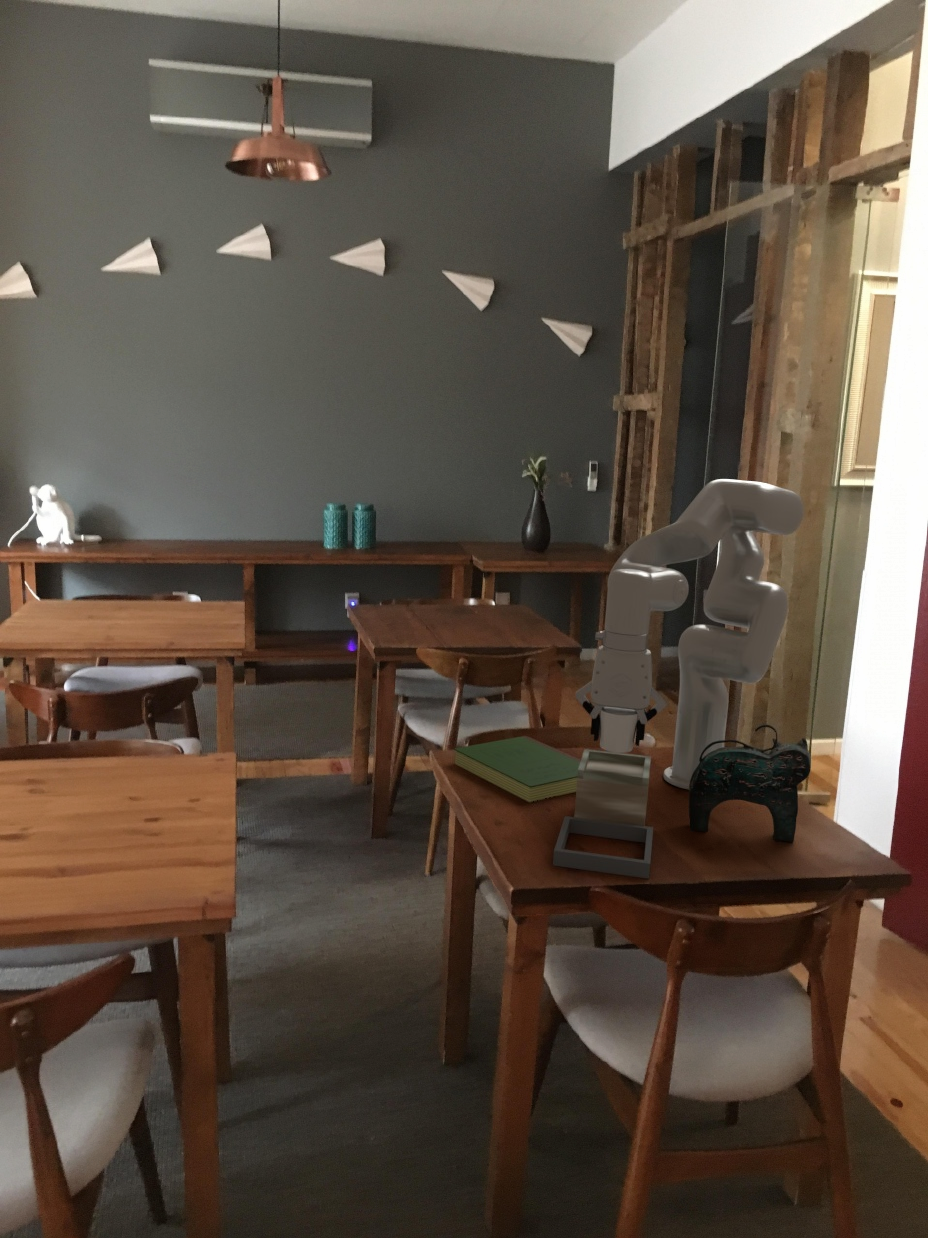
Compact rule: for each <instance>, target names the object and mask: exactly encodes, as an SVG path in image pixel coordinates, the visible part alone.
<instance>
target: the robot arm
mask: <svg viewBox="0 0 928 1238" xmlns="http://www.w3.org/2000/svg"><path fill="white" fill-rule="evenodd" d="M804 513H805V510H804V504H803V501H802V499H801V497H800V495H798V494H797V493H796V492H795V491H793V490H790V489H786V488H782V487H780V486H776V485H773V484H771V483H766V482H761V481H753V480H752V481H751V480H740V479H729V478H720V479H718V478H717V479H715V480H711V481H709V482H707V484H705V486H703V488H702V489H701V490H700V491H699V493H697V495H696V496H695V497H694V499H693V500H692V501H691V502H690V504H689V505H688V506H687V508H686V509H685V510H684V511H683V512H682V513H681V515H679V517H678V519H677V520H676V521H675V522H674V523H671V524H669V525H667V526H664V527H661V528H659V529H658V530H655V531H653V532H650V533H649V534H647V535H644V536H642V537H641V538H639V539H638V540H635V541H633V543H632V544H630V545H629V546H628V547H627V548H626V550H624V552H623V553H622V554H621V555H620V556H619V558H618V559H617V561H616V562H615V563H614V565H613V566H612V568H611V570H610V572H609V575H608V578H607V594H606V595H607V596H606V607H605V608H606V609H605V616H604V617H605V619H604V629H603V630H602V631H596V632H595V638H594V639H595V640H598V641H600V642H601V643H602V645H599V646H598V648H597V651H596V655H595V660H594V665H593V670H592V679H591V680H590V681H589V682H587V683H586V684H585V685H583V686H581V688H579V689H578V690H576V691H575V694H574V697H575V698H576V700H577V701H578V702H579V703H580V704H581V706H582V708H583V709H584V710H585V711H586V713H587V714H588V715H589V717H590V718H591V724H590V735H593V741H594V742H597V741H599V739H600V710H601V709H602V707H603V706H606V707H614V708H623V709H633V710H636V712H637V714H638V722H637V728H636V733H635V738H634V745H635V746H636V747H639V746H640V742H641V741H644V740H645V733H646V732H645V731H646V724H647V722H649V721H650V720H652V719H653V718H654V717H656V716H657V714H659V713H660V712H661V711H662V710H664V708H666V707H667V703H668V702H667V701H666V699H664V698H663V696H662V695H661V694H660V692H658V691H657V690H656V689H655V687H654V686H653V685H652V684H653V683H652V681H653V660H652V659H653V658H652V652H651V650H649V649H648V644H649V631H650V622H651V621H650V620H651V612H652V611H660V612H669V611H674V610H676V609H679V608H680V607H681V606H682V605H683V604H684V603H685V601H686V600H687V598H688V595H689V591H690V589H689V588H690V586H689V583H688V580H687V578H686V576H685V574H683V573H682V572H681V571H679V570H676V569H674V568H671V567H669V568H668V567H663V566H666V565H671V564H677V563H678V564H679V563H685V562H689V561H694V560H698V559H702V558H705V557H707V556H708V555H710V554H711V553H712V552H713V550H715V548H716V547H717V545H718V544H719V542H720V541H721V553H720V556H719V560H718V562H717V565H716V567H715V570H714V573H713V575H712V577H711V581H710V584H709V586H708V589H707V591H706V594H705V597H704V601H703V612H704V613H703V614H705V616H706V617H707V618H708V619H709V620H711V621H713V622H715V623H720V624H724V625H726V626H727V625H728V626H732V627H736V628H737V627H739V628H743V629H747V630H748V631H742V630H737V629H732V628H728V627H722V626H716V625H711V624H694V625H691V626H689V627H687V628H686V629H685V630H684V631H683V632H682V633H681V634H680V638H679V640H678V641H679V642H678V645H677V646H678V649H677V652H678V654H677V655H678V665H679V693H678V704H677V714H676V722H675V723H676V725H675V733H674V734H675V735H674V743H673V745H674V746H673V755H672V766H669V767H667V768H665V769H664V771H663V779H664V780H665V781H666V782H667V783H669V784H671V785H673V786H675V787H677V788H680V789H685V790H688V791H689V784H690V779H691V776H692V774H693V772H694V770H695V769H696V767H697V766H698V764H699V763H700V761H699V758H700V756H701V753H702V752H703V750H704V749H705V748H706V746H707V745H709V744H710V743H712V742H715V741H719V740H726V739H725V736H726V728H727V720H728V709H729V694H728V689H727V687H726V684H725V682H724V679H726V680H729V681H733V682H738V683H743V684H754V683H755V684H756V683H758V682H759V681H761V680H762V679H763V678H764V676H765V675H766V673H767V672H768V668H769V667H770V663H771V661H772V659H773V656H774V653H775V650H776V647H777V645H778V643H779V639H780V636H781V634H782V632H783V629H784V625H785V622H786V618H787V615H788V609H789V601H788V596H787V595H788V594H787V593H786V591H785V589H784V588H783V587H782V586H780V585H779V584H777V583H774V582H771V581H763V580H759V579H760V577H761V574H762V571H763V569H764V564H765V557H764V556H765V555H764V553H763V550H762V548H761V545H760V543H759V542H758V540H757V538H756V537H755V535H754V533H761V534H770V535H779V536H789V535H791V534H793V533H795V532H796V531H797V530H798V529H799V527H800V526H801V524H802V521H803V518H804ZM588 693H590V700H589V699H588V698H587V697H586V695H587V694H588ZM651 699H652V700H653V702H655V704H654V705H653V706H652V707H650V703H651ZM649 707H650V708H649ZM648 708H649V709H648ZM721 747H725V743H717V744H714V745H712V746H711V747H710V748H708V749H707V750H706V751H705V752H704V754H703V756H702V758H703V757H704V756H706V755H707V754H708V753H710V752H712V751H714V750H716V749H718V748H721Z"/></svg>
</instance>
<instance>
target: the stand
mask: <svg viewBox="0 0 928 1238" xmlns="http://www.w3.org/2000/svg"><path fill="white" fill-rule="evenodd" d="M580 759H581V762H580V765H579V768H578V775H577V788H576V792H575V800H574V801H575V803H574V815H573V817H576V818H584V819H592V820H600V821H608V822H615V823H623V824H631V825H639V826H646V825H645V824H646V815H647V806H648V805H647V803H648V793H649V784H650V772H651V761H652V756H649V755H641V754H640V755H639V754H632V753H631V754H630V753H617V752H610V751H607V750H597V749H596V750H595V749H588V748H587V749H586V748H584V750H583V752H582V756H581V758H580Z"/></svg>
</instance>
